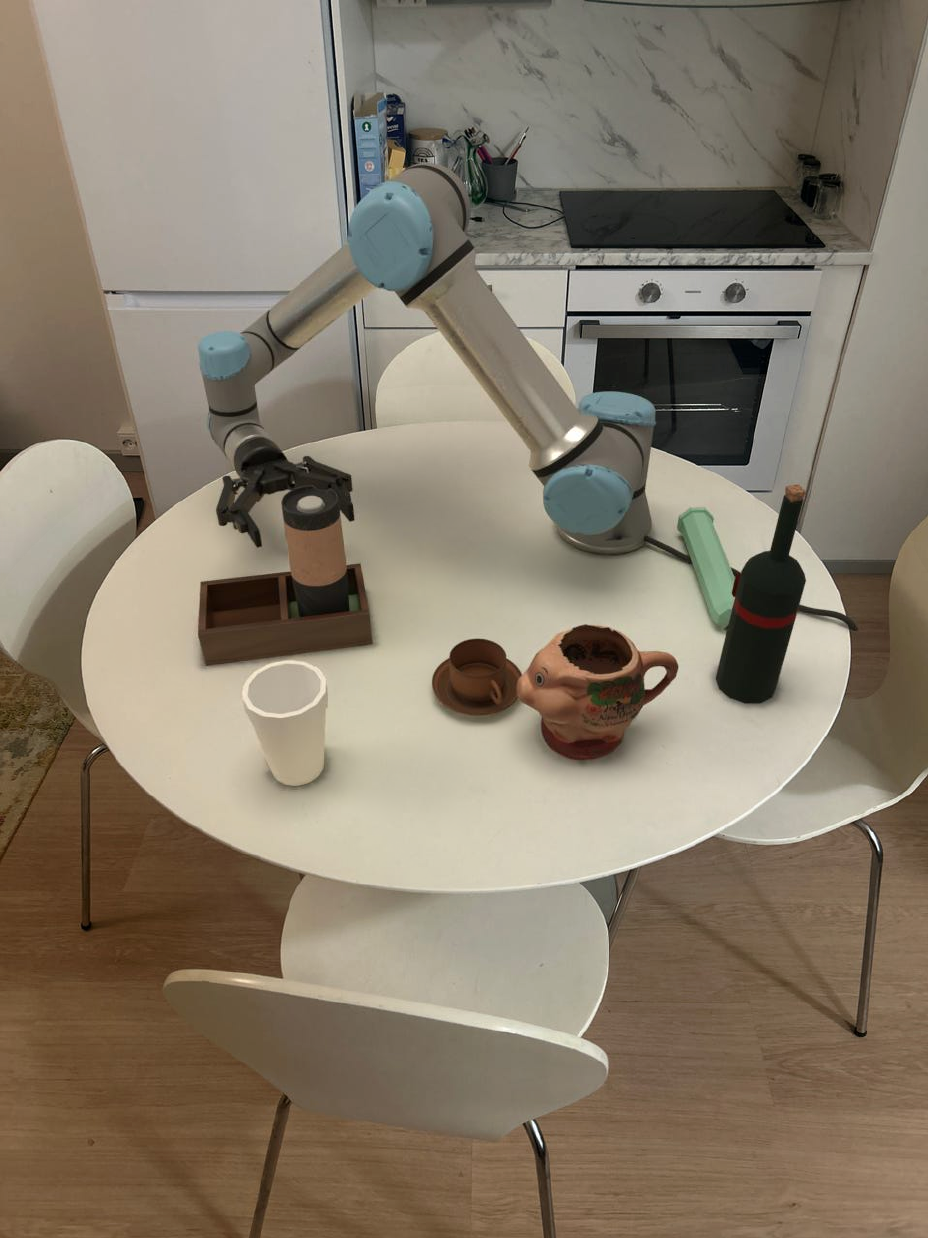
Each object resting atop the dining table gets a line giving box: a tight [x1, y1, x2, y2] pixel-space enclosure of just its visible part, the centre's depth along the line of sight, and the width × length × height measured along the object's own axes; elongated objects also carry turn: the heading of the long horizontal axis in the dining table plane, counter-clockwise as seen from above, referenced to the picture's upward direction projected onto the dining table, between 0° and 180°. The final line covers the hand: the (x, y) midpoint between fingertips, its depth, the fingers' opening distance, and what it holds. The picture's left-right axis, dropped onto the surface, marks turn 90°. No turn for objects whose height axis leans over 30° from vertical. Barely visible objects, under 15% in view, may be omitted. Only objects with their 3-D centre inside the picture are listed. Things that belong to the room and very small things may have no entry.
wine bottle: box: [715, 483, 807, 704], centre depth 114 cm, size 8×10×30 cm
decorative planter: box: [517, 623, 679, 761], centre depth 111 cm, size 20×12×14 cm, turn 107°
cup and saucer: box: [431, 638, 523, 717], centre depth 119 cm, size 12×12×6 cm
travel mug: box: [281, 485, 350, 617], centre depth 126 cm, size 8×8×20 cm
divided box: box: [197, 563, 373, 666], centre depth 130 cm, size 12×23×6 cm, turn 101°
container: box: [676, 506, 735, 630], centre depth 138 cm, size 6×6×25 cm
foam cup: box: [241, 659, 329, 787], centre depth 107 cm, size 10×9×13 cm
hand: (305, 525), depth 126 cm, fingers open, 13 cm apart
